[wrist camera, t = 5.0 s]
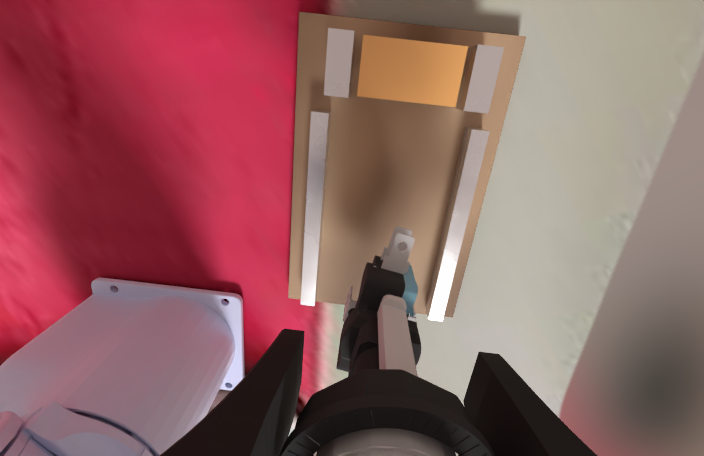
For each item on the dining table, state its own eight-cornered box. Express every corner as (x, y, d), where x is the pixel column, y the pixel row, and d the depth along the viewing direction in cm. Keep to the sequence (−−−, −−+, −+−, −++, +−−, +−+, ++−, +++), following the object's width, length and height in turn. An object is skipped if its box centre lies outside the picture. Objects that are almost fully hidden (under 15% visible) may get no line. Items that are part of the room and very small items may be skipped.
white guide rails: (304, 292, 21) (295, 320, 18) (319, 34, 16) (309, 25, 13) (438, 308, 21) (447, 337, 18) (499, 54, 16) (522, 49, 13)
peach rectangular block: (358, 94, 16) (356, 96, 14) (364, 39, 15) (363, 34, 13) (447, 105, 16) (455, 107, 14) (458, 49, 15) (468, 46, 13)
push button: (346, 208, 15) (308, 360, 6) (461, 241, 16) (607, 440, 6) (311, 332, 17) (240, 594, 8) (413, 360, 18) (464, 648, 8)
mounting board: (291, 290, 22) (288, 298, 21) (302, 15, 16) (299, 11, 15) (449, 309, 22) (452, 317, 21) (519, 38, 16) (526, 36, 15)
